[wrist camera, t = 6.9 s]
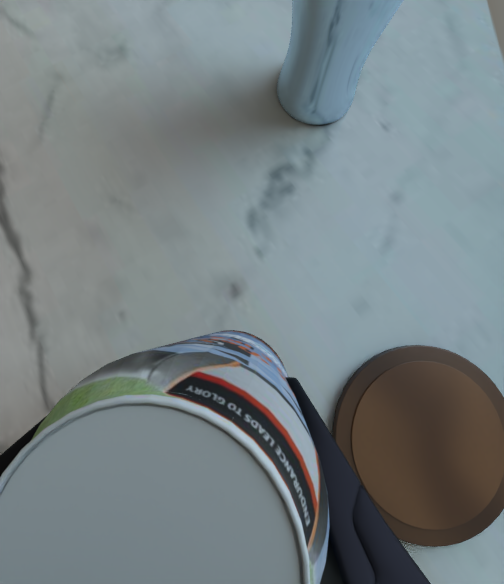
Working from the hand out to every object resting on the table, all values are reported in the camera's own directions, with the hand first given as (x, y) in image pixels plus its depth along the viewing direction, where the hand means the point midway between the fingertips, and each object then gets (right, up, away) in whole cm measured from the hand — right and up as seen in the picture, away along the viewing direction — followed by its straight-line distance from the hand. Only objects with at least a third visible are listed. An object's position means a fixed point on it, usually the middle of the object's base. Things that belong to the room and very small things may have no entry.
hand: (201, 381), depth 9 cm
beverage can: (0, -3, +6) cm, 7 cm away
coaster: (+13, -7, +9) cm, 17 cm away
